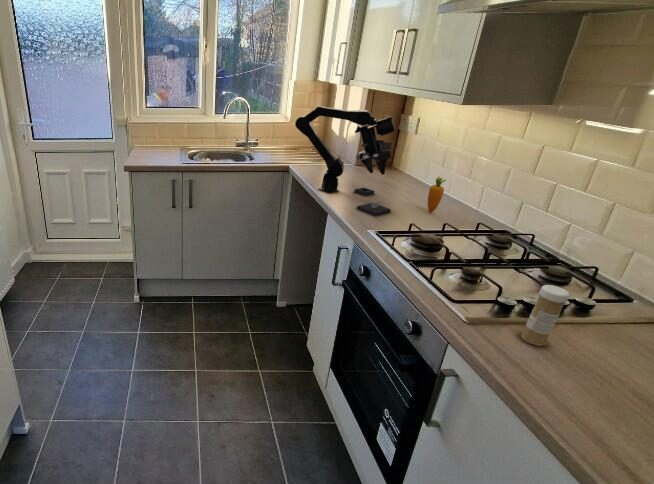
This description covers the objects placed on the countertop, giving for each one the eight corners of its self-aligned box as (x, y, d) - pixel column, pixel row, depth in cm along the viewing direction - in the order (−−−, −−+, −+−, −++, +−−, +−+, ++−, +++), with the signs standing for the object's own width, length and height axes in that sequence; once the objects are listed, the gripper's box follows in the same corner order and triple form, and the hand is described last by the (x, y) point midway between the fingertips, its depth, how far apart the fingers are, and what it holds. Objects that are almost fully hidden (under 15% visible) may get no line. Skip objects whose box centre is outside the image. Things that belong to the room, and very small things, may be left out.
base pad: (356, 209, 171) (358, 200, 170) (371, 205, 175) (373, 196, 173) (375, 216, 164) (377, 206, 162) (390, 212, 168) (392, 203, 166)
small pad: (354, 192, 192) (354, 189, 191) (363, 190, 194) (363, 187, 194) (364, 196, 187) (365, 192, 186) (373, 194, 190) (374, 190, 189)
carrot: (425, 209, 171) (435, 174, 165) (438, 212, 168) (449, 177, 162) (421, 212, 168) (431, 176, 162) (435, 215, 165) (445, 179, 158)
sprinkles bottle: (521, 331, 96) (543, 281, 91) (546, 340, 94) (570, 289, 88) (519, 340, 93) (541, 289, 88) (545, 350, 90) (569, 297, 85)
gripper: (399, 132, 169) (407, 168, 173) (375, 133, 187) (382, 166, 191) (374, 141, 169) (382, 177, 173) (352, 142, 188) (360, 174, 191)
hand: (377, 173), depth 182 cm, fingers open, 9 cm apart
